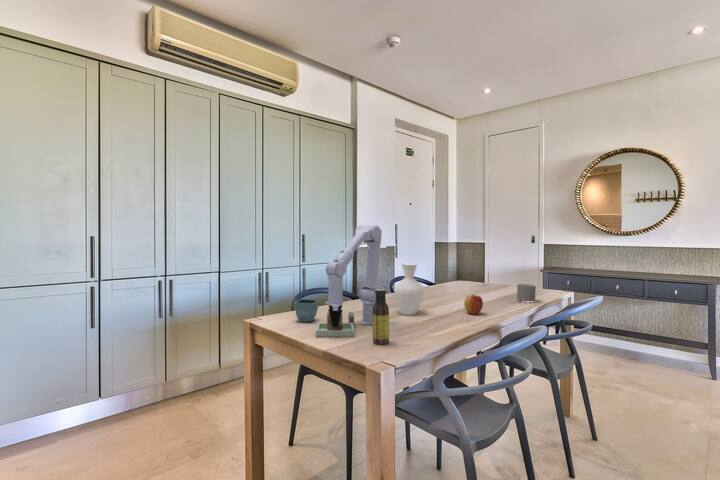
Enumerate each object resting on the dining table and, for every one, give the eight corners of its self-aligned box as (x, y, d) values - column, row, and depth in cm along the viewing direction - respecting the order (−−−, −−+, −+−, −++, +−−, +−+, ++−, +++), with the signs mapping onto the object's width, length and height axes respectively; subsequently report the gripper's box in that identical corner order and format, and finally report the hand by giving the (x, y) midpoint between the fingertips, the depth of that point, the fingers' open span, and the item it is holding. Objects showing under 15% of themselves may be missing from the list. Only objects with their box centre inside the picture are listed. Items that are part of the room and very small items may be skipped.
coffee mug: (528, 304, 216) (528, 286, 215) (513, 301, 224) (513, 284, 224) (542, 301, 223) (542, 285, 222) (527, 299, 231) (527, 283, 231)
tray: (352, 328, 157) (352, 322, 157) (354, 337, 145) (354, 330, 145) (317, 328, 156) (317, 323, 156) (315, 337, 144) (315, 330, 144)
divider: (352, 323, 167) (353, 311, 167) (353, 328, 158) (354, 316, 158) (348, 323, 167) (348, 311, 166) (349, 328, 158) (349, 316, 158)
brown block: (342, 326, 154) (341, 312, 154) (342, 330, 148) (342, 316, 148) (327, 327, 153) (327, 312, 153) (327, 331, 147) (327, 316, 147)
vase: (403, 309, 197) (403, 262, 196) (427, 313, 189) (428, 264, 188) (389, 313, 185) (389, 264, 185) (414, 318, 177) (415, 266, 176)
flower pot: (312, 323, 165) (312, 303, 164) (293, 322, 166) (294, 302, 166) (318, 319, 173) (319, 300, 173) (300, 317, 175) (301, 299, 175)
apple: (473, 316, 182) (473, 296, 182) (459, 312, 190) (460, 293, 190) (486, 314, 187) (486, 295, 186) (472, 311, 195) (473, 292, 194)
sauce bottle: (392, 341, 140) (392, 289, 139) (383, 346, 134) (384, 291, 134) (377, 338, 143) (378, 287, 143) (368, 342, 138) (369, 289, 137)
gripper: (326, 288, 157) (325, 320, 158) (325, 294, 143) (324, 329, 143) (342, 288, 158) (342, 320, 158) (343, 294, 143) (343, 329, 144)
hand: (335, 324), depth 151 cm, fingers closed on brown block, 6 cm apart
